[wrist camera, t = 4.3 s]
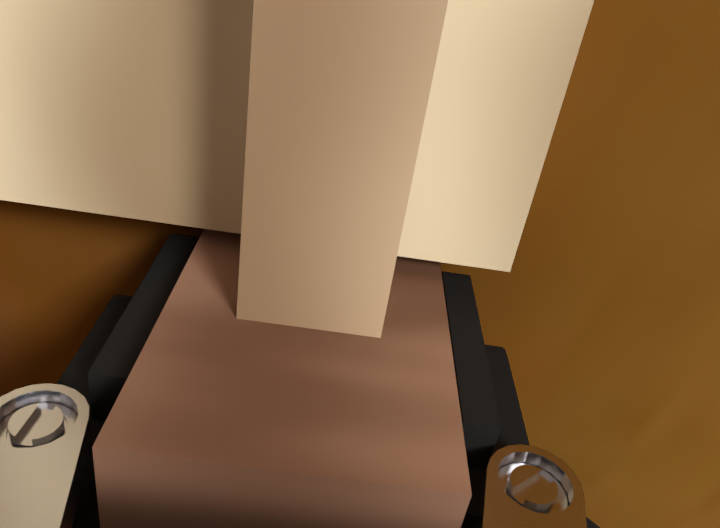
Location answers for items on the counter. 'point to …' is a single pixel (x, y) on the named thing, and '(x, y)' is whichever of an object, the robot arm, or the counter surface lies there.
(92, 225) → the counter surface
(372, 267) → the brown handled block
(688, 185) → the counter surface
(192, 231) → the counter surface
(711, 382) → the counter surface
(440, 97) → the board
